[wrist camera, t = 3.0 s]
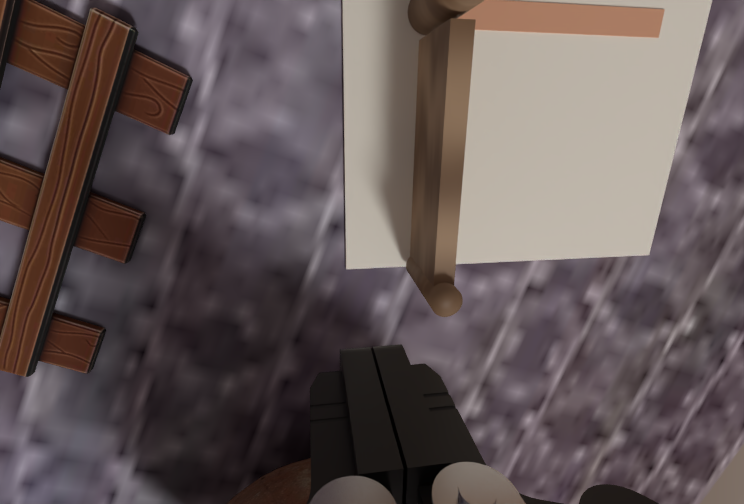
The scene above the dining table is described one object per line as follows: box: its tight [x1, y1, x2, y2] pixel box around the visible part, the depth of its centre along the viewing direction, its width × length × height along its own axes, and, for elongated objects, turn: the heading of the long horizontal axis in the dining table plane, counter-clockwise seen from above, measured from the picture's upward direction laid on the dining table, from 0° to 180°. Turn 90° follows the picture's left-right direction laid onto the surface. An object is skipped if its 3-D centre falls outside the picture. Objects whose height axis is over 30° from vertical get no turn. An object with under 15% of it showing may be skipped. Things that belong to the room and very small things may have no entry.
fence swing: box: [406, 18, 476, 317], centre depth 23 cm, size 15×2×6 cm, turn 0°
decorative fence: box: [0, 0, 193, 377], centre depth 23 cm, size 23×2×15 cm
